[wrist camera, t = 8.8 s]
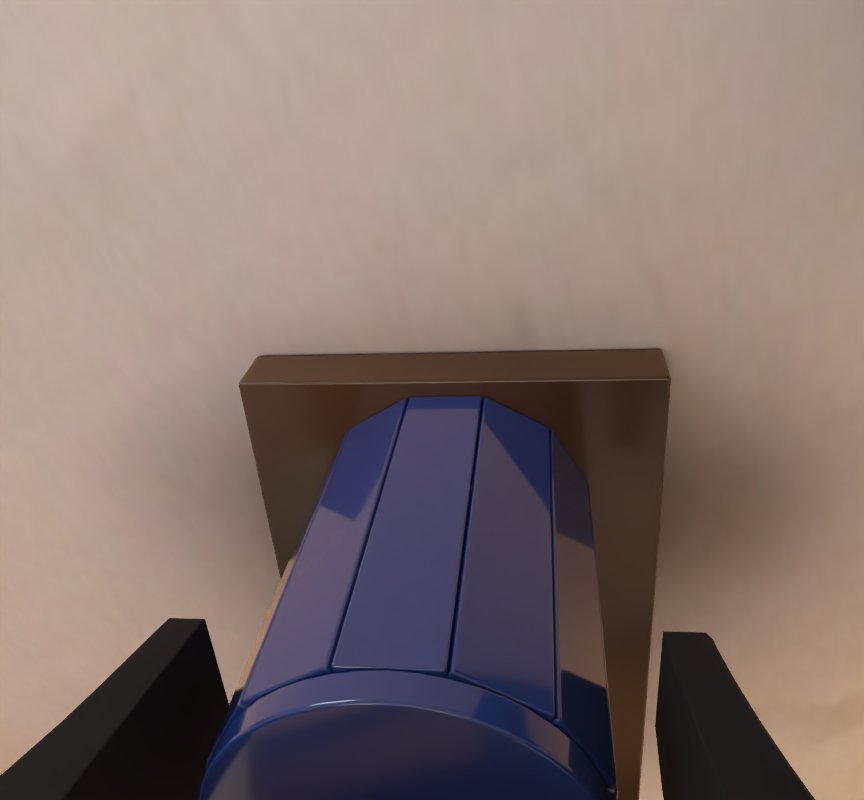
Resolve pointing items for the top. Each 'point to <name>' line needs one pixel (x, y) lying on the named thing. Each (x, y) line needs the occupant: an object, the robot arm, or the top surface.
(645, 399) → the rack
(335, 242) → the top surface
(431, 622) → the blue ribbed canister
